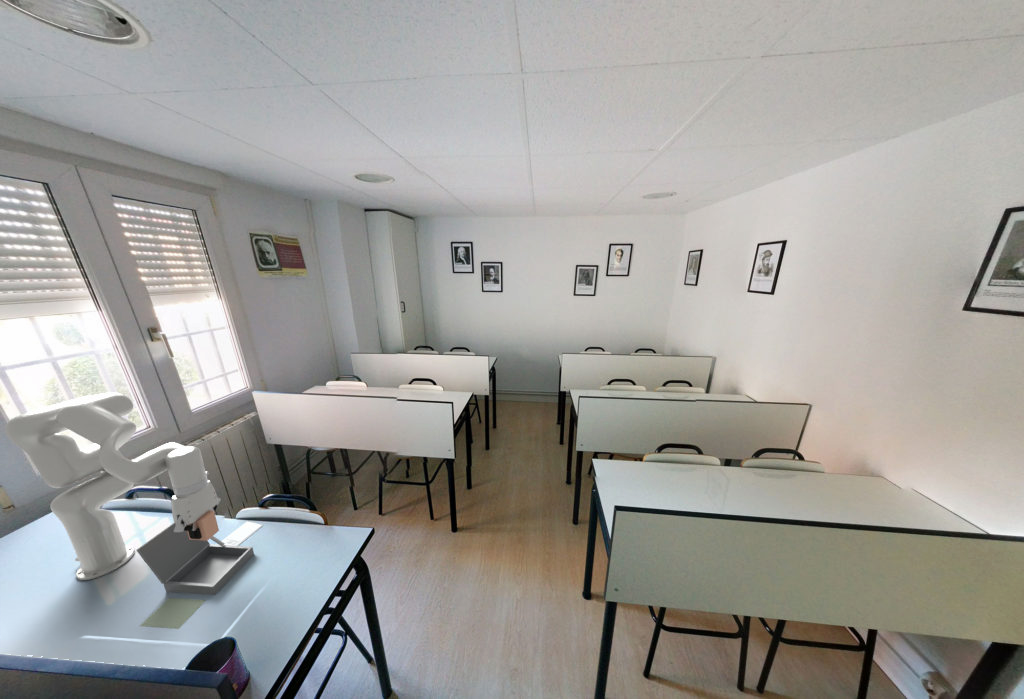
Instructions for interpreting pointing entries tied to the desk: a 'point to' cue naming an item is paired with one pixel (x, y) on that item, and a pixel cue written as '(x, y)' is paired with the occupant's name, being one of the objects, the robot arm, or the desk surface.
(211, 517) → the block
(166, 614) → the olive mat
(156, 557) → the equipment case
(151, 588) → the desk surface
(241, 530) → the external hard drive
